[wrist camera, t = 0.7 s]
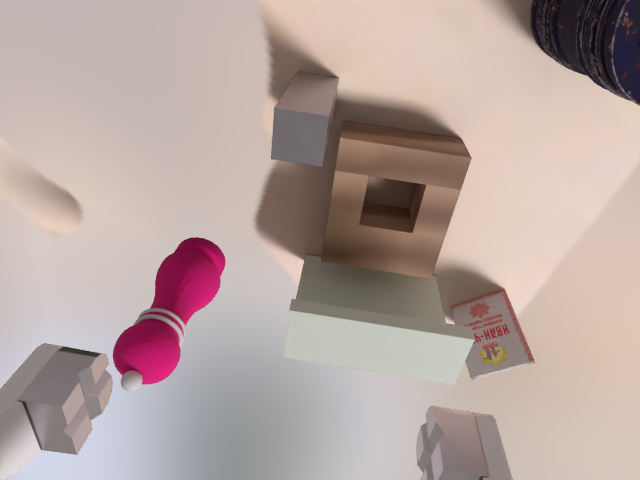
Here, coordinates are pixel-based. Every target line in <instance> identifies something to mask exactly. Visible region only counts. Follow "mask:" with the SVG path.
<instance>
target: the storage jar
mask: <svg viewBox="0 0 640 480" xmlns="http://www.w3.org/2000/svg"><path fill="white" fill-rule="evenodd" d="M531 28H532V32H533V35H534V38H535V40H536V42H537V44H538V45H539V47H540V48H541V49H542V50H543V51H544V52H545V53H546V54H547V55H548V56H550V57H551V58H553V59H554V60H555V61H556V62H558V63H559V64H561V65H563V66H564V67H566V68H568V69H570V70H572V71H575V72H578V73H580V74H583V75H587V76H588V77H589V78H590V79H591V80H592V81H593V82H594V83H596V84H597V85H599V86H601V87H602V88H604V89H606V90H609V91H610V92H612V93H614V94H615V95H617V96H619V97H622V98H624V99H627V100H630V101H633V102H634V103H636V104H638V105H640V0H533V2H532V7H531Z"/></svg>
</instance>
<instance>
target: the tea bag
mask: <svg viewBox="0 0 640 480" xmlns="http://www.w3.org/2000/svg"><path fill="white" fill-rule="evenodd" d="M451 309H452V313H453V317H454V322H455V325H459V326H466V327H471V328H472V332H473V336H474V339H475V340H474V342H473V345H472V347H471V349H470V351H469V353H468V356H467V358H466V360H465V361H466V364H467V368H468V371H469V374H470V377H471V379H472V380H473V379H476V378H480V377H484V376H488V375H492V374H496V373H499V372H503V371H507V370H511V369H515V368H518V367H522V366H526V365H529V364H533V363H535V362H534V359H533V356H532V354H531V351H530V349H529V346H528V344H527V341H526V339H525V336H524V334H523V331H522V329H521V326H520V325H519V322H518V319H517V317H516V314H515V312H514V309H513V307H512V305H511V302H510V300H509V298H508V296H507V293H506V291H505V289H504V290H501V291H498V292H494V293H491V294H488V295H485V296H482V297H479V298H476V299H473V300H470V301H467V302H464V303H461V304H458V305H455V306H452V307H451Z"/></svg>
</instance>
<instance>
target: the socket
mask: <svg viewBox="0 0 640 480" xmlns="http://www.w3.org/2000/svg"><path fill="white" fill-rule="evenodd" d="M470 161H471V156H470V154H469V152H468V150H467V148H466V146H465V144H464V142H463V140H462V139H459V138H453V137H446V136H440V135H433V134H427V133H420V132H414V131H407V130H401V129H394V128H388V127H381V126H375V125H368V124H362V123H355V122H349V121H343V124H342V130H341V136H340V142H339V148H338V155H337V161H336V168H335V174H334V181H333V187H332V194H331V200H330V207H329V213H328V219H327V226H326V232H325V239H324V245H323V252H322V258H321V261H322V262H329V263H335V264H341V265H348V266H354V267H360V268H367V269H373V270H379V271H386V272H392V273H398V274H405V275H411V276H417V277H424V278H430V279H431V277H432V274H433V271H434V268H435V265H436V262H437V259H438V256H439V253H440V250H441V247H442V244H443V241H444V238H445V235H446V232H447V229H448V226H449V223H450V220H451V217H452V214H453V211H454V208H455V205H456V202H457V200H458V197H459V194H460V191H461V188H462V185H463V182H464V179H465V176H466V173H467V170H468V167H469V164H470ZM369 176H373V177H380V178H386V179H393V180H399V181H406V182H412V183H416V185H415V189H414V193H413V196H412V200H411V204H410V208H409V210H408V209H402V208H395V207H389V206H383V205H376V204H370V203H364V198H365V193H366V188H367V183H368V178H369Z"/></svg>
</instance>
